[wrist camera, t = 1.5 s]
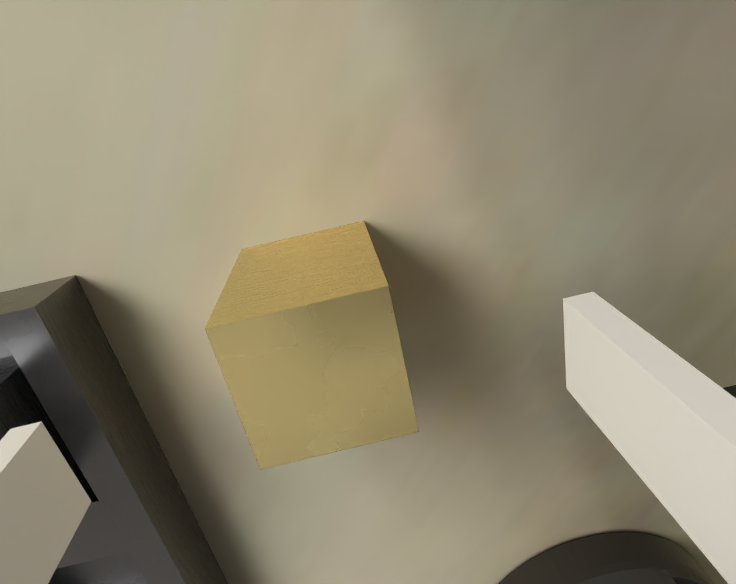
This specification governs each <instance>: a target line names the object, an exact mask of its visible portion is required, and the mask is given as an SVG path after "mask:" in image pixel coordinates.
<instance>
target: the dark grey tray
mask: <svg viewBox="0 0 736 584" xmlns="http://www.w3.org/2000/svg"><path fill="white" fill-rule="evenodd" d="M10 356H13V357H14V358H15V360H16V362H17V363H18V365H19V367H20V368H21V370H22V372H23V374H24V375H25V377H26V379H27V380H28V382H29V384H30V385H31V387H32V389H33V390H34V392H35V394H36V395H37V397H38V399H39V401H40V402H41V404H42V406H43V407H44V409H45V411H46V412H47V414H48V416H49V417H50V419H51V421H52V422H53V424H54V426H55V428H56V429H57V431H58V433H59V434H60V436H61V438H62V439H63V441H64V443H65V444H66V446H67V448H68V449H69V451H70V453H71V454H72V456H73V458H74V460H75V461H76V463H77V465H78V466H77V468H76V470H75V471H74V474H75V476H76V477H77V479H78V481H79V482H80V484H81V485H82V487H83V488H84V490H85V492H86V493H87V495H88V496H89V498H90V500H91V503H90V505H89V507H88V509H87V511H86V513H85V515H84V517H83V519H82V520H81V522H80V524H79V526H78V528H77V530H76V532H75V534H74V536H73V537H72V539H71V541H70V543H69V545H68V547H67V549H66V551H65V553H64V555H63V556H62V558H61V560H60V562H59V564H58V566H57V568H56V570H55V572H54V573H53V575H52V577H51V579H50V581H49V583H48V584H227V582H226V580H225V578H224V576H223V574H222V572H221V570H220V568H219V566H218V564H217V562H216V560H215V558H214V556H213V554H212V552H211V550H210V548H209V546H208V544H207V542H206V540H205V537H204V535H203V533H202V531H201V529H200V527H199V525H198V523H197V521H196V519H195V517H194V515H193V513H192V511H191V509H190V507H189V505H188V503H187V501H186V499H185V497H184V495H183V493H182V491H181V489H180V487H179V485H178V483H177V481H176V479H175V477H174V474H173V472H172V470H171V468H170V466H169V464H168V462H167V460H166V458H165V456H164V454H163V452H162V450H161V448H160V446H159V444H158V442H157V440H156V438H155V436H154V434H153V432H152V430H151V428H150V426H149V424H148V422H147V420H146V418H145V416H144V414H143V411H142V409H141V407H140V405H139V403H138V401H137V399H136V397H135V395H134V393H133V391H132V389H131V387H130V385H129V383H128V381H127V379H126V377H125V375H124V373H123V371H122V369H121V367H120V365H119V363H118V361H117V359H116V357H115V355H114V353H113V351H112V348H111V346H110V344H109V342H108V340H107V338H106V336H105V334H104V332H103V330H102V328H101V326H100V324H99V322H98V320H97V318H96V316H95V314H94V312H93V310H92V308H91V306H90V304H89V302H88V300H87V298H86V296H85V294H84V292H83V290H82V288H81V285H80V283H79V281H78V279H77V277H76V275H75V276H71V277H66V278H62V279H58V280H53V281H49V282H45V283H41V284H36V285H32V286H28V287H23V288H19V289H15V290H10V291H6V292H2V293H0V359H2V358H6V357H10Z"/></svg>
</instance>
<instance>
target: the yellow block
mask: <svg viewBox="0 0 736 584" xmlns="http://www.w3.org/2000/svg"><path fill="white" fill-rule="evenodd" d="M205 330H206V333H207V335H208V338H209V340H210V343H211V346H212V348H213V351H214V353H215V356H216V358H217V361H218V363H219V366H220V368H221V371H222V374H223V376H224V379H225V381H226V384H227V386H228V389H229V391H230V394H231V396H232V399H233V401H234V404H235V407H236V409H237V412H238V414H239V417H240V419H241V422H242V424H243V427H244V429H245V432H246V434H247V437H248V440H249V442H250V445H251V447H252V450H253V452H254V455H255V457H256V460H257V462H258V465H259V468H260V470H261V469H265V468H270V467H274V466H278V465H282V464H286V463H291V462H295V461H299V460H303V459H307V458H312V457H316V456H320V455H324V454H328V453H332V452H337V451H341V450H345V449H349V448H353V447H358V446H362V445H366V444H370V443H374V442H378V441H383V440H387V439H391V438H395V437H399V436H404V435H408V434H412V433H416V432H419V430H418V425H417V420H416V415H415V410H414V406H413V401H412V396H411V391H410V386H409V381H408V377H407V372H406V367H405V362H404V357H403V353H402V348H401V343H400V338H399V333H398V329H397V324H396V319H395V314H394V309H393V305H392V300H391V295H390V290H389V285H388V283H387V280H386V278H385V275H384V272H383V270H382V267H381V265H380V262H379V259H378V257H377V254H376V252H375V249H374V246H373V244H372V241H371V238H370V236H369V233H368V231H367V228H366V225H365V223H364V221H361V222H357V223H352V224H348V225H344V226H339V227H335V228H331V229H326V230H322V231H318V232H314V233H309V234H305V235H301V236H296V237H292V238H288V239H283V240H279V241H275V242H271V243H266V244H262V245H258V246H253V247H249V248H245V249H242V250H241V252H240V254H239V256H238V258H237V260H236V263H235V265H234V267H233V269H232V271H231V273H230V276H229V278H228V280H227V282H226V284H225V286H224V289H223V291H222V293H221V295H220V297H219V299H218V302H217V304H216V306H215V308H214V310H213V312H212V314H211V317H210V319H209V321H208V323H207V325H206V327H205Z"/></svg>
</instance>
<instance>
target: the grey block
mask: <svg viewBox="0 0 736 584" xmlns="http://www.w3.org/2000/svg"><path fill="white" fill-rule="evenodd" d="M41 421H42V423H43V425H44V426H45V428H46V429H47V431H48V433H49V434H50V436H51V437H52V439H53V441H54V442H55V444H56V445H57V447H58V449H59V450H60V452H61V453H62V455H63V457H64V458H65V460H66V461H67V463H68V465H69V466H70V468H71V469H72V471H73V473H74V471H75V470H76V468H77V466H78V465H77V463H76V461H75V460H74V458H73V456H72V454H71V453H70V451H69V449H68V448H67V446H66V444H65V443H64V441H63V439H62V438H61V436H60V434H59V433H58V431H57V429H56V428H55V426H54V424H53V422H52V421H51V419H50V417H49V416H48V414H47V412H46V411H45V409H44V407H43V406H42V404H41V402H40V401H39V399H38V397H37V395H36V394H35V392H34V390H33V389H32V387H31V385H30V384H29V382H28V380H27V379H26V377H25V375H24V374H23V372H22V370H21V368H20V367H19V365H18V363H17V362H16V360H15V358H14V357H13V356H10V357H6V358H2V359H0V440H1V439H2V438H3V437H4V436H5V435H6V434H7V432H8V431H9V430H10V429H12V428H16V427H20V426H24V425H29V424H33V423H37V422H41Z"/></svg>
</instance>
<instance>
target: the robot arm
mask: <svg viewBox="0 0 736 584" xmlns="http://www.w3.org/2000/svg"><path fill="white" fill-rule="evenodd" d="M563 309H564V336H565V362H566V388H567V390H568V391H569V392H570V393H571V394H572V396H573V397H574V398H575V399H576V400H577V402H578V403H579V404H580V405H581V407H582V408H583V409H584V410H585V411H586V413H587V414H588V415H589V416H590V417H591V419H592V420H593V421H594V422H595V423H596V425H597V426H598V427H599V428H600V429H601V431H602V432H603V433H604V434H605V435H606V437H607V438H608V439H609V440H610V442H611V443H612V444H613V445H614V446H615V448H616V449H617V450H618V451H619V452H620V454H621V455H622V456H623V457H624V458H625V460H626V461H627V462H628V463H629V464H630V466H631V467H632V468H633V469H634V471H635V472H636V473H637V474H638V475H639V477H640V478H641V479H642V480H643V481H644V483H645V484H646V485H647V486H648V487H649V489H650V490H651V491H652V492H653V493H654V495H655V496H656V497H657V498H658V499H659V501H660V502H661V503H662V504H663V506H664V507H665V508H666V509H667V510H668V512H669V513H670V514H671V515H672V516H673V518H674V519H675V520H676V521H677V522H678V524H679V525H680V526H681V527H682V528H683V530H684V531H685V532H686V533H687V534H688V536H689V537H690V538H691V539H692V541H693V542H694V543H695V544H696V545H697V547H698V548H699V549H700V550H701V551H702V553H703V554H704V555H705V556H706V557H707V559H708V560H709V561H710V562H711V563H712V565H713V566H714V567H715V568H716V569H717V571H718V572H719V573H720V574H721V576H722V577H723V578H724V579H725V580H726V582H727V583H728V584H736V385H734V386H730V387H726V388H721V387H720V386H719V385H717V384H716V383H715V382H713V381H712V380H711V379H709V378H708V377H707V376H705V375H704V374H703V373H701V372H700V371H699V370H697V369H696V368H695V367H693V366H692V365H691V364H689V363H688V362H687V361H685V360H684V359H683V358H681V357H680V356H679V355H677V354H676V353H674V352H673V351H672V350H670V349H669V348H668V347H666V346H665V345H664V344H662V343H661V342H660V341H658V340H657V339H656V338H654V337H653V336H652V335H650V334H649V333H648V332H646V331H645V330H644V329H642V328H641V327H640V326H638V325H637V324H636V323H634V322H633V321H632V320H630V319H629V318H628V317H626V316H625V315H624V314H622V313H621V312H620V311H618V310H617V309H616V308H614V307H613V306H612V305H610V304H609V303H608V302H606V301H605V300H604V299H602V298H601V297H600V296H598V295H597V294H596V293H594V292H589V293H585V294H581V295H577V296H572V297H568V298H564V299H563ZM90 503H91V500H90V498H89V496H88V495H87V493H86V492H85V490H84V488H83V487H82V485H81V484H80V482H79V481H78V479H77V477H76V476H75V474H74V473H73V471H72V469H71V468H70V466H69V465H68V463H67V461H66V460H65V458H64V457H63V455H62V453H61V452H60V450H59V449H58V447H57V445H56V444H55V442H54V441H53V439H52V437H51V436H50V434H49V433H48V431H47V429H46V428H45V426H44V425H43V423H42V421H41V422H37V423H33V424H29V425H24V426H20V427H16V428H12V429H10V430H9V431H8V432H7V434H6V435H5V436H4V437H3V438H2V439H1V440H0V584H48V583H49V581H50V579H51V577H52V575H53V573H54V572H55V570H56V568H57V566H58V564H59V562H60V560H61V558H62V556H63V555H64V553H65V551H66V549H67V547H68V545H69V543H70V541H71V539H72V537H73V536H74V534H75V532H76V530H77V528H78V526H79V524H80V522H81V520H82V519H83V517H84V515H85V513H86V511H87V509H88V507H89V505H90ZM500 584H714V583H713V582H712V581H711V580H710V578H709V577H708V576H707V575H706V573H705V572H704V571H703V570H702V568H701V567H700V566H699V565H698V564H697V562H696V561H695V560H694V559H693V557H692V556H691V555H690V554H689V553H688V552H687V551H686V550H684V549H683V548H682V547H680V546H679V545H677V544H675V543H673V542H671V541H669V540H667V539H664V538H661V537H658V536H653V535H649V534H642V533H609V534H601V535H595V536H590V537H586V538H582V539H578V540H575V541H571V542H568V543H565V544H563V545H560V546H557V547H555V548H553V549H551V550H548V551H546V552H544V553H542V554H540V555H538V556H536V557H535V558H533V559H531V560H529V561H528V562H526V563H525V564H523V565H522V566H520V567H519V568H517V569H516V570H515V571H513V572H512V573H511V574H510V575H508V576H507V577H506V578H505V579H504V580H503V581H502V582H501V583H500Z"/></svg>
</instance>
